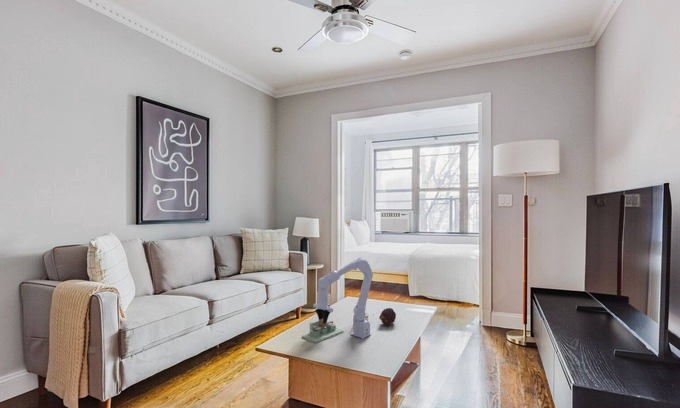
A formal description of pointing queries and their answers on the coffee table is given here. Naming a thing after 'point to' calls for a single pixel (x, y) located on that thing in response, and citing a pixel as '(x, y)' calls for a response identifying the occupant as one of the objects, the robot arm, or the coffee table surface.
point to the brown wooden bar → (322, 324)
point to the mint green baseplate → (321, 332)
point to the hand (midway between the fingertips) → (323, 322)
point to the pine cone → (388, 316)
